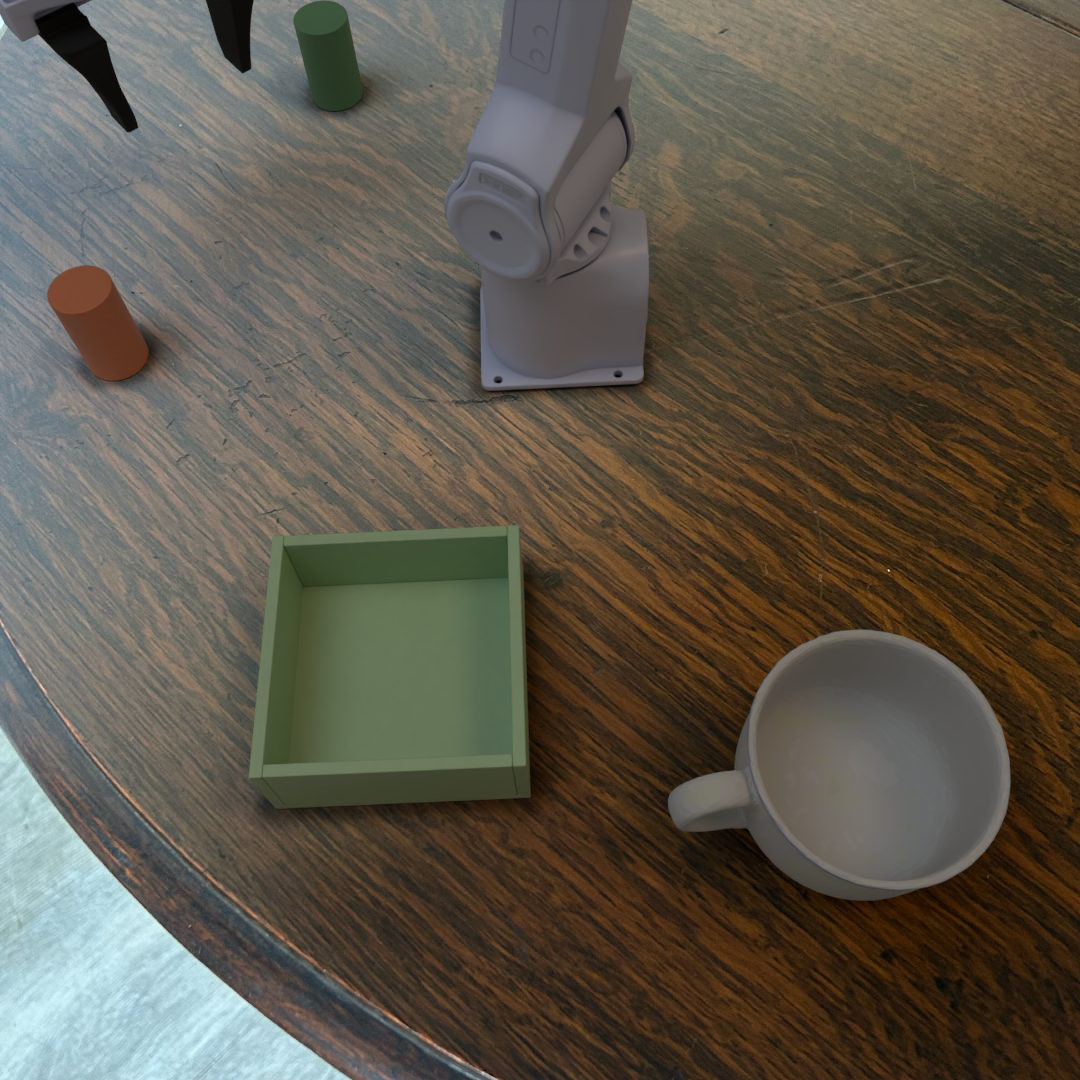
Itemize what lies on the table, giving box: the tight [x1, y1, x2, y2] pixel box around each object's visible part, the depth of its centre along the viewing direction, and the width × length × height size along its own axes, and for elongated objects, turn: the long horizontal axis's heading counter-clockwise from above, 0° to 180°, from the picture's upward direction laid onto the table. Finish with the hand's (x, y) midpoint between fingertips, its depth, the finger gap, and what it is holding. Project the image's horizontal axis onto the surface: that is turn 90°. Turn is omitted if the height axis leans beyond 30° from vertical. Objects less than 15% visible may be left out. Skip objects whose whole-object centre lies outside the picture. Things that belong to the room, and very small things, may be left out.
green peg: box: [292, 0, 364, 112], centre depth 74 cm, size 4×4×6 cm
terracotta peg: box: [46, 264, 150, 382], centre depth 63 cm, size 4×4×6 cm
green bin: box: [248, 524, 532, 810], centre depth 52 cm, size 12×12×5 cm
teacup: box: [667, 628, 1012, 902], centre depth 47 cm, size 14×11×8 cm
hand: (182, 92), depth 63 cm, fingers open, 7 cm apart
